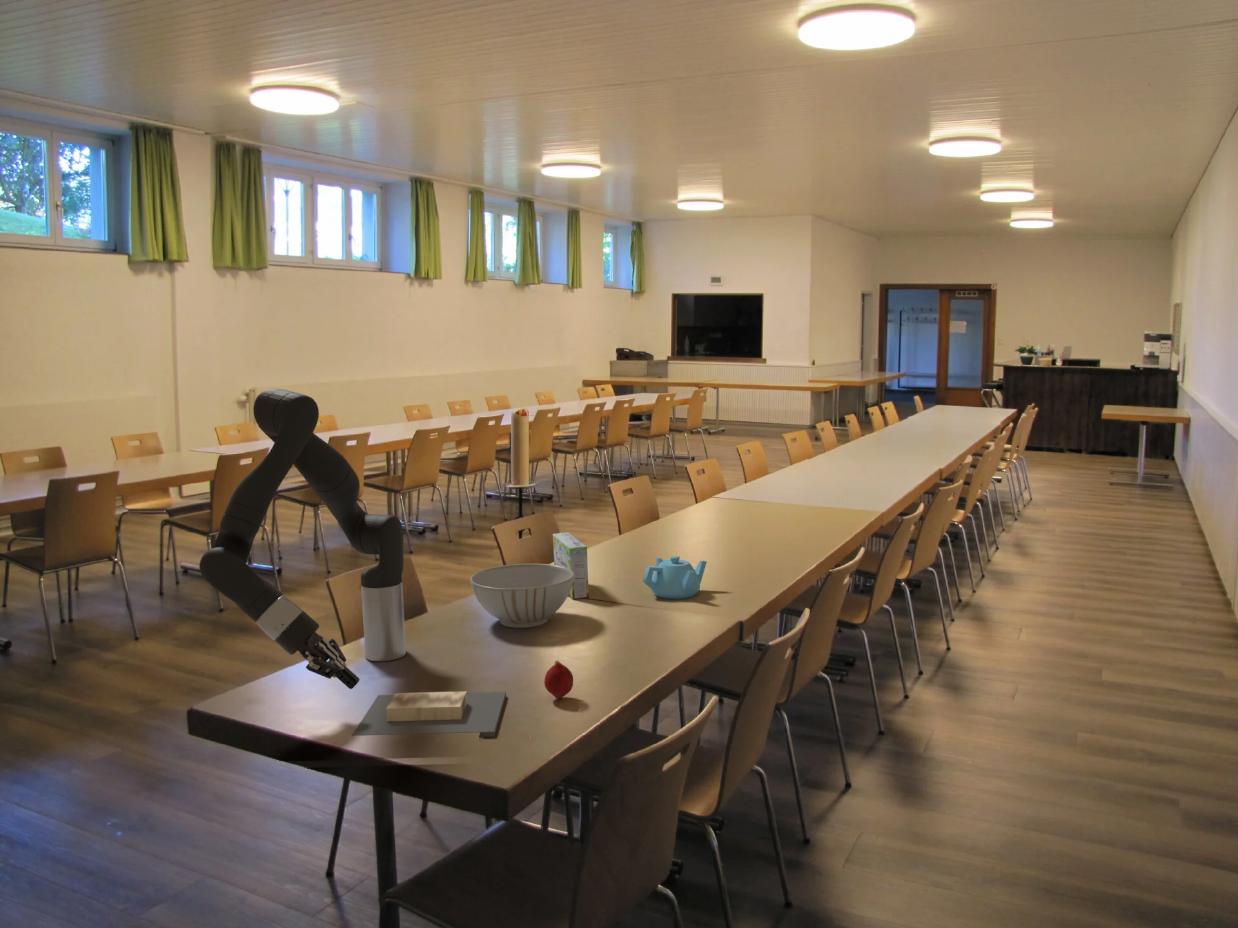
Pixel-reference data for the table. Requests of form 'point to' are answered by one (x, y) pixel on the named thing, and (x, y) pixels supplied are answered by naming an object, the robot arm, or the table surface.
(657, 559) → the teapot
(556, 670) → the onion
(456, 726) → the mat
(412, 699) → the wooden block
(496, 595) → the decorative bowl
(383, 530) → the robot arm
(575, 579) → the snack box
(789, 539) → the table surface
